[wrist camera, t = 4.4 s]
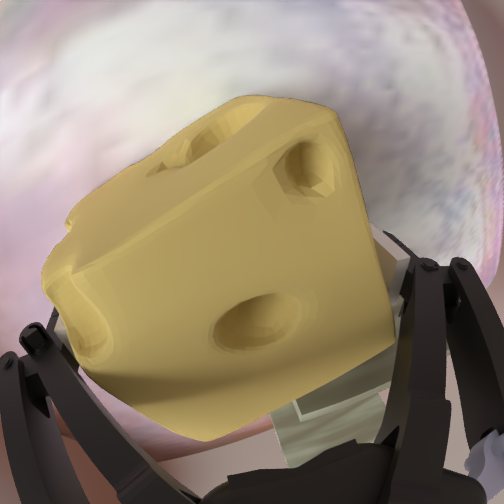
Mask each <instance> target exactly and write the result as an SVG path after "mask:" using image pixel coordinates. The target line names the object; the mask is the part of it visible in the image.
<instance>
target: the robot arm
mask: <svg viewBox="0 0 504 504" xmlns="http://www.w3.org/2000/svg"><path fill="white" fill-rule="evenodd" d="M369 224H370V228H371V232H372V236H373V240H374V244H375V248H376V252H377V255H378V259H379V263H380V266H381V270H382V273H383V277H384V281H385V284H386V288H387V291H388V295H389V298H390V302H391V306H393V305H396V304H397V301H398V298H399V295H401V297H402V298H403V299H404V301H403V304H402V306H401V309H400V312H399V315H398V317H400V316H401V320H400V329H399V337H398V344H397V351H396V358H395V364H394V370H393V375H392V381H391V386H390V391H389V395H388V400H387V404H386V409H385V413H384V417H383V421H382V424H381V427H380V430H379V432H378V434H377V436H376V438H375V441H374V443H357V441H356V439H352V440H350V441H347V442H345V443H342V444H340V445H337V446H335V447H332V448H329V449H327V450H325V451H323V452H322V453H320V454H319V455H317V456H315V457H314V458H312V459H311V460H309V461H307V462H306V463H304V464H302V465H300V466H299V467H296V468H286V469H259V470H254V471H250V472H245V473H240V474H235V475H229V476H227V478H228V481H227V482H225V483H222V484H221V485H219V486H217V487H216V488H214V489H213V490H211V491H210V492H209V493H208V494H207V495H205V497H204V498H203V499H202V498H200V497H199V496H198V495H196V494H195V493H193V492H192V491H191V490H189V489H188V488H187V487H185V486H184V485H182V484H181V483H180V482H178V481H177V480H176V479H175V478H174V477H172V476H171V475H170V474H169V473H168V472H167V471H166V470H164V469H163V468H162V467H161V466H160V465H159V464H158V463H157V462H156V461H155V460H154V459H152V458H151V457H150V456H149V455H148V454H147V453H146V452H145V451H144V450H143V449H142V448H141V447H140V446H139V445H138V444H137V443H136V442H135V441H134V440H133V439H132V438H131V436H130V435H129V434H128V433H127V432H126V431H125V430H124V429H123V428H122V427H121V426H120V424H119V423H118V422H117V421H116V420H115V419H114V418H113V416H112V415H111V414H110V413H109V412H108V411H107V409H106V408H105V407H104V406H103V405H102V403H101V402H100V401H99V400H98V398H97V397H96V396H95V394H94V393H93V392H92V391H91V389H90V388H89V387H88V385H87V384H86V382H85V381H84V380H83V378H82V377H81V376H80V375H79V373H78V368H79V366H80V364H79V363H78V361H77V360H76V358H75V355H74V352H73V350H72V347H71V345H70V342H69V339H68V335H67V331H66V328H65V325H64V323H63V321H62V318H61V316H60V314H59V313H58V311H57V309H56V308H55V306H54V309H53V312H52V314H51V318H50V320H49V323H48V325H47V328H46V330H45V328H44V327H43V325H42V324H41V323H39V322H34V323H31V324H29V325H28V326H26V327H25V328H24V329H23V331H22V332H21V334H20V337H19V343H20V344H21V345H22V347H23V348H24V349H25V350H26V352H27V353H28V354H27V355H25V356H23V357H20V358H19V357H18V356H17V354H16V353H15V352H13V351H9V352H6V353H5V354H4V355H2V357H1V358H0V414H1V422H2V428H3V434H4V439H5V445H6V450H7V454H8V459H9V463H10V467H11V471H12V475H13V478H14V482H15V485H16V488H17V492H18V494H19V498H20V501H21V503H22V504H90V503H89V501H88V499H87V497H86V495H85V493H84V491H83V489H82V487H81V485H80V482H79V480H78V478H77V475H76V473H75V471H74V469H73V466H72V464H71V461H70V459H69V456H68V453H67V451H66V448H65V445H64V442H63V439H62V437H61V434H60V430H59V427H58V424H57V421H56V417H55V414H54V410H53V407H52V403H51V399H52V401H53V403H54V405H55V406H56V408H57V410H58V412H59V413H60V415H61V417H62V418H63V420H64V421H65V423H66V425H67V426H68V428H69V429H70V431H71V432H72V434H73V435H74V437H75V438H76V440H77V441H78V443H79V444H80V446H81V447H82V448H83V450H84V451H85V452H86V454H87V455H88V456H89V458H90V459H91V461H92V462H93V463H94V464H95V466H96V467H97V468H98V470H99V471H100V472H101V473H102V474H103V475H104V477H105V478H106V479H107V480H108V482H109V483H110V484H111V485H112V486H113V487H114V489H115V490H116V491H117V498H118V500H119V501H120V502H121V503H122V504H487V502H488V501H489V500H490V499H491V498H493V497H494V496H495V495H496V494H498V493H499V492H500V491H501V490H502V489H503V488H504V327H503V325H502V323H501V320H500V318H499V316H498V314H497V312H496V310H495V307H494V305H493V303H492V301H491V299H490V297H489V295H488V293H487V291H486V289H485V287H484V285H483V284H482V282H481V280H480V278H479V276H478V274H477V273H476V271H475V269H474V267H473V266H472V264H471V263H470V262H469V261H467V260H466V259H464V258H460V257H454V258H452V260H451V262H450V265H449V266H439V264H438V263H437V262H435V261H434V260H432V259H429V258H419V257H417V256H416V255H415V254H414V253H413V252H412V251H411V250H410V249H409V248H407V247H406V246H405V245H404V244H403V243H402V242H400V241H399V240H398V239H397V238H396V237H395V236H393V235H392V234H390V233H388V232H386V231H381V230H379V229H378V228H377V227H376V226H375V225H374V224H372V223H371V222H370V221H369ZM446 339H447V343H448V347H449V350H450V354H451V358H452V362H453V367H454V371H455V375H456V380H457V384H458V389H459V395H460V401H461V407H462V413H463V420H464V427H465V432H466V438H467V442H468V446H469V449H470V454H469V457H468V458H467V459H466V461H465V469H466V470H467V471H469V475H468V476H466V475H463V474H459V473H457V472H453V471H451V470H447V469H445V468H443V466H444V461H445V455H446V449H447V443H448V436H449V428H450V419H451V403H450V401H449V400H446V399H445V387H446ZM80 367H81V366H80ZM81 368H82V367H81ZM83 371H84V370H83ZM50 398H51V399H50Z"/></svg>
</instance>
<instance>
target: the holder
mask: <svg viewBox="0 0 504 504" xmlns="http://www.w3.org/2000/svg"><path fill="white" fill-rule="evenodd" d="M403 301H404V299H403V298H402V297H401V295H399V298H398V301H397V304H396V305H393V306H392V310H393V314H394V320H395V327H396V341H395V343H394V344H392V345H391V346H389V347H388V348H386V349H385V350H383V351H382V352H380V353H378V354H377V355H375V356H373V357H372V358H370V359H368V360H367V361H365V362H363V363H362V364H360V365H358V366H357V367H355V368H353V369H351V370H350V371H348V372H346V373H345V374H343V375H341V376H339V377H337V378H336V379H334V380H332V381H330V382H328V383H326V384H325V385H323V386H321V387H319V388H317V389H315V390H313V391H311V392H309V393H308V394H306V395H304V396H302V397H300V398H298V399H296V400H294V401H292V402H290V403H288V404H286V405H284V406H282V407H280V408H278V409H277V410H275V411H273V412H271V413H269V414H270V417H271V420H272V423H273V426H274V429H275V432H276V435H277V438H278V441H279V444H280V447H281V450H282V453H283V456H284V459H285V462H286V464H287V467H288V468H296V467H299V466H300V465H302V464H304V463H306V462H307V461H309V460H311V459H312V458H314V457H315V456H317V455H319V454H320V453H322V452H323V451H325V450H327V449H329V448H332V447H335V446H337V445H340V444H342V443H345V442H347V441H350V440H352V439H356V441H357V443H370V442H372V441H374V440H375V438H376V436H377V434H378V432H379V430H380V427H381V424H382V421H383V417H384V413H385V409H386V406H385V404H384V402H383V401H382V399H381V397H380V396H379V394H378V392H381V391H383V390H385V389H387V388H390V386H391V381H392V375H393V370H394V364H395V358H396V351H397V344H398V337H399V329H400V320H401V316H400V317H398V315H399V312H400V309H401V306H402V304H403ZM448 355H450V350H449V347H448V343H447V339H446V357H447V356H448Z"/></svg>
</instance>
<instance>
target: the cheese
mask: <svg viewBox="0 0 504 504" xmlns="http://www.w3.org/2000/svg"><path fill="white" fill-rule="evenodd" d="M65 226H66V228H67V231H68V234H67V235H66V237H65V238H64V239H63V240H62V241H61V242H59V243H58V244H57V245H56V246H55V247H54V249H53V250H52V252H51V253H50V255H49V256H48V258H47V260H46V262H45V264H44V266H43V269H42V273H41V283H42V290H43V292H44V294H45V295H46V296H47V298H48V299H49V300H50V301H51V303H52V304H53V305H54V306H55V308H56V309H57V311H58V313H59V314H60V316H61V318H62V321H63V323H64V325H65V328H66V331H67V335H68V339H69V342H70V345H71V347H72V350H73V352H74V355H75V358H76V360H77V361H78V363H79V364H80V366H81V367H82V369H83V370H84V372H85V373H86V375H87V376H88V377H89V378H90V379H92V380H93V381H94V382H95V383H96V384H97V385H99V386H100V387H101V388H102V389H104V390H105V391H107V392H108V393H110V394H111V395H113V396H114V397H116V398H117V399H119V400H121V401H122V402H124V403H125V404H127V405H129V406H130V407H132V408H133V409H135V410H136V411H138V412H139V413H141V414H143V415H144V416H146V417H147V418H149V419H151V420H152V421H154V422H156V423H157V424H159V425H161V426H163V427H165V428H167V429H169V430H171V431H173V432H175V433H177V434H180V435H182V436H185V437H189V438H192V439H195V440H199V441H204V442H206V441H211V440H214V439H217V438H219V437H222V436H224V435H227V434H229V433H231V432H233V431H235V430H237V429H240V428H242V427H243V426H245V425H247V424H249V423H251V422H253V421H255V420H257V419H259V418H261V417H263V416H265V415H266V414H269V413H271V412H273V411H275V410H277V409H278V408H280V407H282V406H284V405H286V404H288V403H290V402H292V401H294V400H296V399H298V398H300V397H302V396H304V395H306V394H308V393H309V392H311V391H313V390H315V389H317V388H319V387H321V386H323V385H325V384H326V383H328V382H330V381H332V380H334V379H336V378H337V377H339V376H341V375H343V374H345V373H346V372H348V371H350V370H351V369H353V368H355V367H357V366H358V365H360V364H362V363H363V362H365V361H367V360H368V359H370V358H372V357H373V356H375V355H377V354H378V353H380V352H382V351H383V350H385V349H386V348H388V347H389V346H391V345H392V344H394V343H395V341H396V327H395V320H394V314H393V310H392V306H391V302H390V298H389V295H388V291H387V288H386V284H385V281H384V277H383V273H382V270H381V266H380V263H379V259H378V255H377V252H376V248H375V244H374V240H373V236H372V232H371V228H370V224H369V220H368V216H367V211H366V207H365V203H364V199H363V195H362V191H361V187H360V183H359V180H358V176H357V172H356V168H355V165H354V161H353V158H352V154H351V151H350V148H349V145H348V142H347V139H346V136H345V133H344V131H343V128H342V126H341V123H340V121H339V118H338V116H337V114H336V113H335V112H334V111H333V110H332V109H330V108H328V107H325V106H322V105H318V104H315V103H311V102H306V101H301V100H296V99H291V98H289V99H286V98H274V97H269V96H261V95H248V96H242V97H237V98H234V99H232V100H230V101H229V102H227V103H225V104H223V105H222V106H220V107H218V108H217V109H215V110H213V111H211V112H210V113H208V114H206V115H205V116H203V117H202V118H200V119H198V120H197V121H195V122H194V123H192V124H191V125H189V126H188V127H186V128H184V129H183V130H181V131H180V132H179V133H177V134H176V135H174V136H173V137H172V138H171V139H169V140H168V141H167V142H166V143H165V144H163V145H162V146H161V147H160V148H159V149H158V150H156V151H155V152H154V153H152V154H151V155H149V156H148V157H146V158H145V159H143V160H142V161H140V162H138V163H136V164H132V165H130V166H129V167H127V168H126V169H124V170H123V171H121V172H120V173H119V174H117V175H116V176H114V177H113V178H112V179H110V180H109V181H107V182H106V183H104V184H103V185H101V186H100V187H99V188H97V189H96V190H94V191H93V192H91V193H90V194H89V195H87V196H86V197H85V198H83V199H82V200H81V201H80V202H79V203H77V204H76V205H75V207H74V208H73V209H72V210H71V212H70V214H69V215H68V217H67V219H66V222H65Z"/></svg>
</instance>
